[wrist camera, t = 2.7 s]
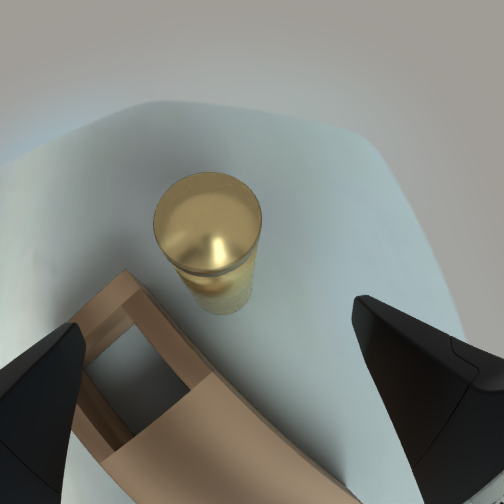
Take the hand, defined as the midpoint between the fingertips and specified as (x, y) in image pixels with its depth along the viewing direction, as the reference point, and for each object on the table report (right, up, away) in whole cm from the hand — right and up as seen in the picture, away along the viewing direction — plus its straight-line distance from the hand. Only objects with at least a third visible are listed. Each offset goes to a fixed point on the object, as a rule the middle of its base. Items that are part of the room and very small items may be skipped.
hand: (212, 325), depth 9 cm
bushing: (-1, 0, +12) cm, 12 cm away
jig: (-2, -10, +8) cm, 13 cm away
